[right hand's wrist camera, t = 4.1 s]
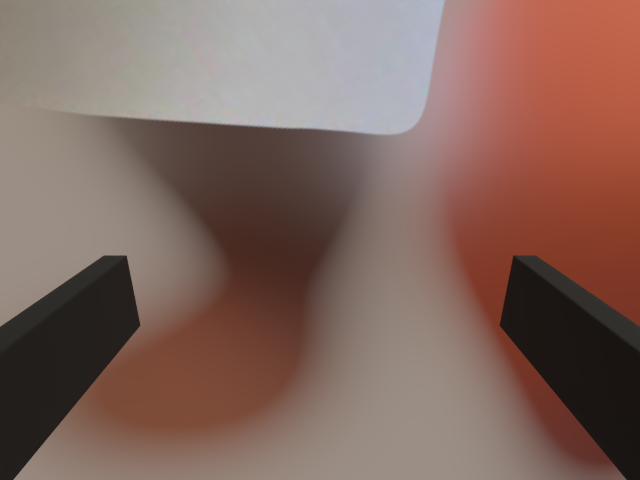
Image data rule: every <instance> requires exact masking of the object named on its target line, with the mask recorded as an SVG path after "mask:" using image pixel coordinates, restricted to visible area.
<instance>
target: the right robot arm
mask: <svg viewBox="0 0 640 480" xmlns="http://www.w3.org/2000/svg"><path fill="white" fill-rule="evenodd" d="M139 326H140V321H139V317H138V311H137V306H136V301H135V296H134V291H133V286H132V281H131V276H130V271H129V266H128V260H127V256H103V257H101V258H100V259H98V260H97V261H95V262H94V263H93V264H91V265H90V266H88V267H87V268H85V269H84V270H82V271H81V272H79V273H78V274H77V275H75V276H74V277H72V278H71V279H69V280H68V281H66V282H65V283H64V284H62V285H61V286H59V287H58V288H56V289H55V290H53V291H52V292H50V293H49V294H48V295H46V296H45V297H43V298H42V299H40V300H39V301H37V302H36V303H34V304H33V305H31V306H30V307H28V308H27V309H26V310H24V311H23V312H21V313H20V314H18V315H17V316H15V317H14V318H12V319H11V320H10V321H8V322H7V323H5V324H4V325H2V326H1V327H0V480H13V479H14V478H15V477H16V476H17V475H18V473H19V472H20V471H21V470H22V468H23V467H24V466H25V465H26V464H27V462H28V461H29V460H30V459H31V458H32V456H33V455H34V454H35V453H36V451H37V450H38V449H39V448H40V447H41V445H42V444H43V443H44V442H45V440H46V439H47V438H48V437H49V436H50V434H51V433H52V432H53V431H54V430H55V428H56V427H57V426H58V425H59V424H60V422H61V421H62V420H63V419H64V417H65V416H66V415H67V414H68V413H69V411H70V410H71V409H72V408H73V407H74V405H75V404H76V403H77V402H78V400H79V399H80V398H81V397H82V396H83V394H84V393H85V392H86V391H87V390H88V388H89V387H90V386H91V385H92V383H93V382H94V381H95V380H96V379H97V377H98V376H99V375H100V374H101V373H102V371H103V370H104V369H105V368H106V367H107V365H108V364H109V363H110V362H111V360H112V359H113V358H114V357H115V356H116V354H117V353H118V352H119V351H120V350H121V348H122V347H123V346H124V345H125V343H126V342H127V341H128V340H129V339H130V337H131V336H132V335H133V334H134V333H135V331H136V330H137V329H138V328H139ZM500 326H501V328H502V329H503V330H504V331H505V332H506V334H507V335H508V336H509V337H510V338H511V340H512V341H513V342H514V343H515V345H516V346H517V347H518V348H519V350H520V351H521V352H522V353H523V354H524V356H525V357H526V358H527V359H528V360H529V362H530V363H531V364H532V365H533V366H534V368H535V369H536V370H537V371H538V373H539V374H540V375H541V376H542V377H543V379H544V380H545V381H546V382H547V383H548V385H549V386H550V387H551V388H552V390H553V391H554V392H555V393H556V394H557V396H558V397H559V398H560V399H561V400H562V402H563V403H564V404H565V405H566V407H567V408H568V409H569V410H570V411H571V413H572V414H573V415H574V416H575V417H576V419H577V420H578V421H579V422H580V424H581V425H582V426H583V427H584V428H585V430H586V431H587V432H588V433H589V434H590V436H591V437H592V438H593V439H594V441H595V442H596V443H597V444H598V445H599V447H600V448H601V449H602V450H603V451H604V453H605V454H606V455H607V456H608V458H609V459H610V460H611V461H612V462H613V464H614V465H615V466H616V467H617V468H618V470H619V471H620V472H621V473H622V475H623V476H624V477H625V478H626V479H627V480H640V327H639V326H638V325H636V324H635V323H633V322H632V321H630V320H629V319H628V318H626V317H625V316H623V315H622V314H620V313H619V312H617V311H616V310H614V309H613V308H612V307H610V306H609V305H607V304H606V303H604V302H603V301H601V300H600V299H598V298H597V297H595V296H594V295H593V294H591V293H590V292H588V291H587V290H585V289H584V288H582V287H581V286H579V285H578V284H577V283H575V282H574V281H572V280H571V279H569V278H568V277H566V276H565V275H563V274H562V273H561V272H559V271H558V270H556V269H555V268H553V267H552V266H550V265H549V264H547V263H546V262H544V261H543V260H542V259H540V258H539V257H537V256H513V260H512V265H511V271H510V276H509V281H508V286H507V291H506V296H505V301H504V306H503V311H502V317H501V321H500Z"/></svg>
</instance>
